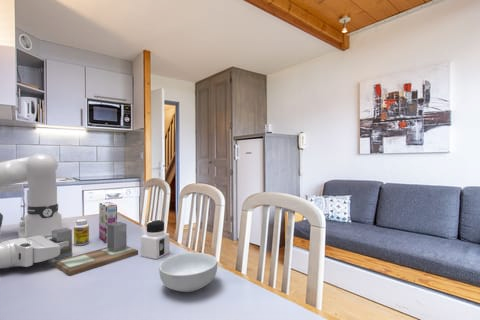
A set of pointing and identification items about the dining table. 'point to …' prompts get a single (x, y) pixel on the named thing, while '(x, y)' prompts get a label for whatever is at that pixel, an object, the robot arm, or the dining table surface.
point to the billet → (116, 237)
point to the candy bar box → (106, 218)
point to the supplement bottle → (81, 232)
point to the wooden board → (92, 260)
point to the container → (155, 240)
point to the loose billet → (61, 236)
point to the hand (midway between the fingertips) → (64, 241)
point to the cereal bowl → (188, 271)
